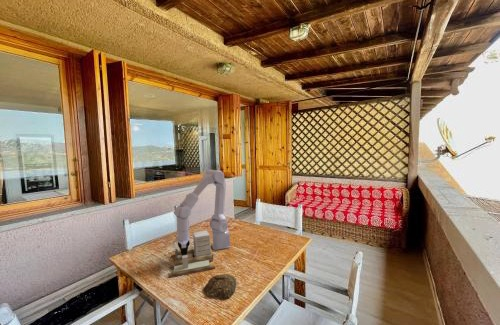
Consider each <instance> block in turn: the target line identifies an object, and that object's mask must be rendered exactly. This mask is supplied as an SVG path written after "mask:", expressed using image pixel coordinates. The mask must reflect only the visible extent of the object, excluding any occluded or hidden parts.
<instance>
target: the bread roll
mask: <svg viewBox="0 0 500 325" xmlns="http://www.w3.org/2000/svg"><path fill="white" fill-rule="evenodd" d="M236 288H237V279H236V277H235V276H233V275H231V274H225V273H224V274H223V273H221V274H216V275H213V276H212V277H210V278H209V280H208V282H207V283H206V284H205V286H204V287H203V293H205V294H206V296H207V297H208V298H211V299H220V300H222V301H223V300H228V299H230V298H231V297H232V295H234V293H235V292H236Z"/></svg>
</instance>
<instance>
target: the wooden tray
mask: <svg viewBox="0 0 500 325" xmlns="http://www.w3.org/2000/svg"><path fill="white" fill-rule="evenodd" d="M178 249H179V248H175V251H174V252H175V257H174V259H175V261H174V262H175V263H174V265H179V264H182V255H181V251H178ZM210 254H211V255H205V256H199V257H195V256H194V248H192V249H188V250H187V255H188V263H190V262H196V261H202V260H207V259H213V260H214V253H213V248H212V245H210ZM193 256H194V257H193Z"/></svg>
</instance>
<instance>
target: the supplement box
mask: <svg viewBox="0 0 500 325" xmlns="http://www.w3.org/2000/svg"><path fill="white" fill-rule="evenodd" d="M192 233H193V234H192V235H193V236H192V237H193V238H192V239H193V249H194V255H193V256H194V257H199V256H205V255H211V254H210V246H211V235H210V233H209V232H208V230H207V229H205V230H199V231H198V230H197V231H194V232H192Z"/></svg>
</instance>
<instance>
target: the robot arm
mask: <svg viewBox="0 0 500 325" xmlns="http://www.w3.org/2000/svg"><path fill="white" fill-rule="evenodd" d="M208 185H213V186H215V196H214V213H213V214H212V215H211V218H210V219H211V220H210V221H209V227H210V229H211V230H212V243H211V248H212V251H219V250H223V249H224V250H225V249H229V248H231V241H230V240H231V236H230V231H229V229H228V228H229V227H228V225H229V224H228V219H227V217H226V216H225V204H226V203H225V202H226V188H227V183H226V179H225V174H224V172H222V171H221V170H217V169H208V170H206V171H205V173H203V175H202V178H201V179H200V181H199V183H198V184H197V185H196V187H195V188H194V190H193V191H192V192H189V193H188V194H186V195H185V198H184V199H183V200H182V202H180V204H179V205H176V207H175V209H174V211H173V214H174V215H175V217H176V234H177V238H175V239H174V242H177V246H178V249H179V250H180V251H181V255H182V256H183V255H187V250H189V246H190V244H191V243H190V239H191V237H190V224H189V223H190V222H189V221H190V220H189V219H190V218H189V217H190V216H191V212H192V209H193V207H194V206H195V205H196V204H197V202H198V201H199V196H200V195H201V194H202V192H203V191H204V190H205V189H206V188H207V186H208ZM180 251H179V252H180Z"/></svg>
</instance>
